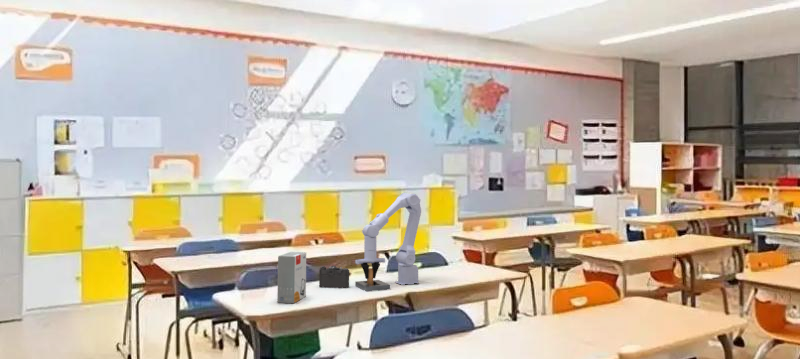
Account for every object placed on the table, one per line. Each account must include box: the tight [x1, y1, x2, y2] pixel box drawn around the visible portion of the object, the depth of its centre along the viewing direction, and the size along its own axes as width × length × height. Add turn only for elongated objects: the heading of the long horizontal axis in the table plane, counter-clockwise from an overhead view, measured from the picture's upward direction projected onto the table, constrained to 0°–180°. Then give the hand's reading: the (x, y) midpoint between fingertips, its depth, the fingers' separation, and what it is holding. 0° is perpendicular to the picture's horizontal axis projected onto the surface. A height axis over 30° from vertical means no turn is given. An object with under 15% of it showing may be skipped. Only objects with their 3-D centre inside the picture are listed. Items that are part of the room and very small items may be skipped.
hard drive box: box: [276, 251, 307, 304], centre depth 296 cm, size 16×8×20 cm, turn 168°
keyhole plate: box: [354, 279, 391, 292], centre depth 324 cm, size 12×14×2 cm
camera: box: [318, 265, 350, 289], centre depth 328 cm, size 14×11×10 cm
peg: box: [366, 267, 374, 286], centre depth 327 cm, size 3×3×8 cm
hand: (370, 278), depth 327 cm, fingers closed on peg, 3 cm apart
